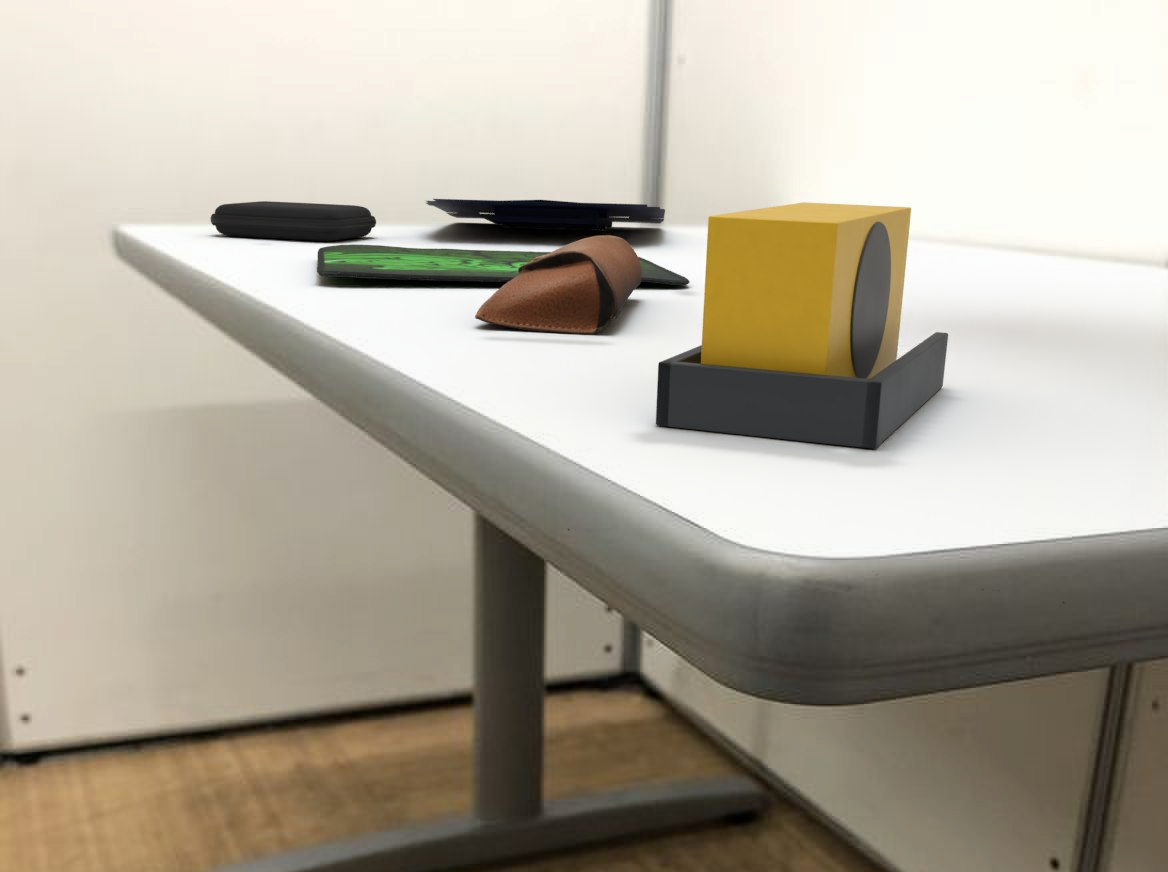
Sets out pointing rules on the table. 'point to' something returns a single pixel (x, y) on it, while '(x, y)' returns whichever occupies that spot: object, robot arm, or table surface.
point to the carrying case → (293, 220)
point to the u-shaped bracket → (799, 398)
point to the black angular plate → (550, 213)
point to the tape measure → (805, 288)
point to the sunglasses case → (568, 288)
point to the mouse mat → (445, 264)
